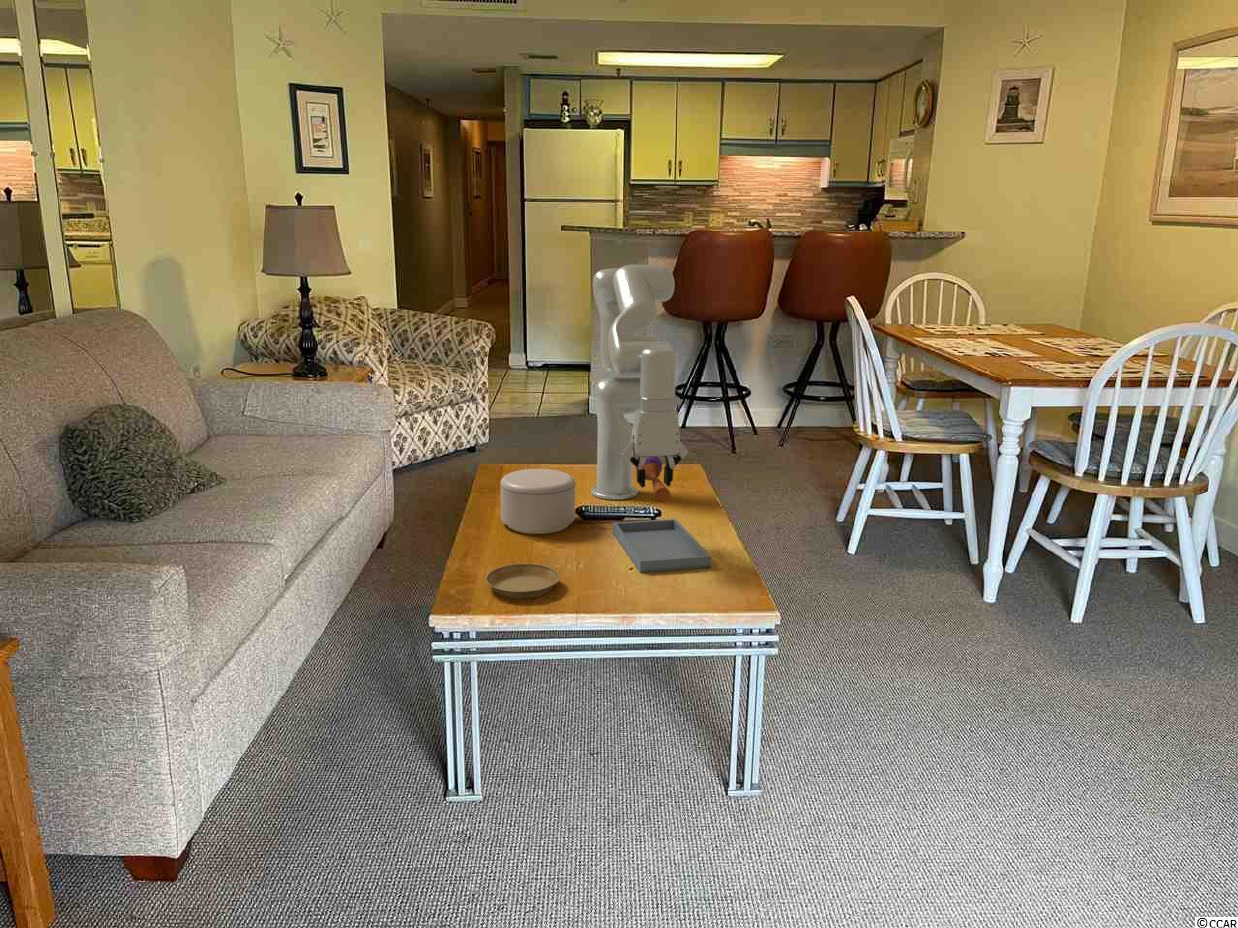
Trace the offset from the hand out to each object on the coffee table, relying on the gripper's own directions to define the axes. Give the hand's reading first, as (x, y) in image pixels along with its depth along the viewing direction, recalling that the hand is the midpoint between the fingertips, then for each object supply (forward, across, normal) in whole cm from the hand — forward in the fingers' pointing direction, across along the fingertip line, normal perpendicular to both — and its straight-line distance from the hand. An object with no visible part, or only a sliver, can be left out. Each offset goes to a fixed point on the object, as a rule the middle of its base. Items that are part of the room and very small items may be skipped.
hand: (654, 484), depth 205 cm
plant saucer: (+16, +31, +17) cm, 39 cm away
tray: (+15, -2, 0) cm, 15 cm away
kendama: (+1, 0, 0) cm, 1 cm away
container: (+16, +23, -22) cm, 36 cm away
